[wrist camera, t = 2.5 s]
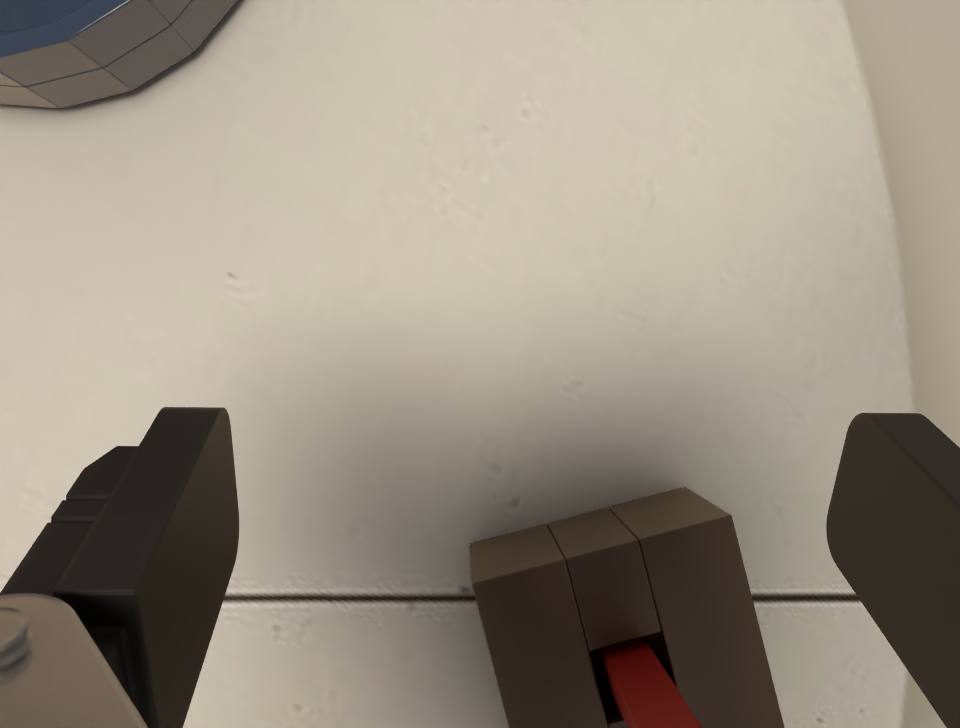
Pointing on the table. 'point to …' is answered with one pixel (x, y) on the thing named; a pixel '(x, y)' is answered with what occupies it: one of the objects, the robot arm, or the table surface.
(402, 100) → the table surface
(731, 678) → the stand
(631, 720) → the red square peg
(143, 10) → the bowl
